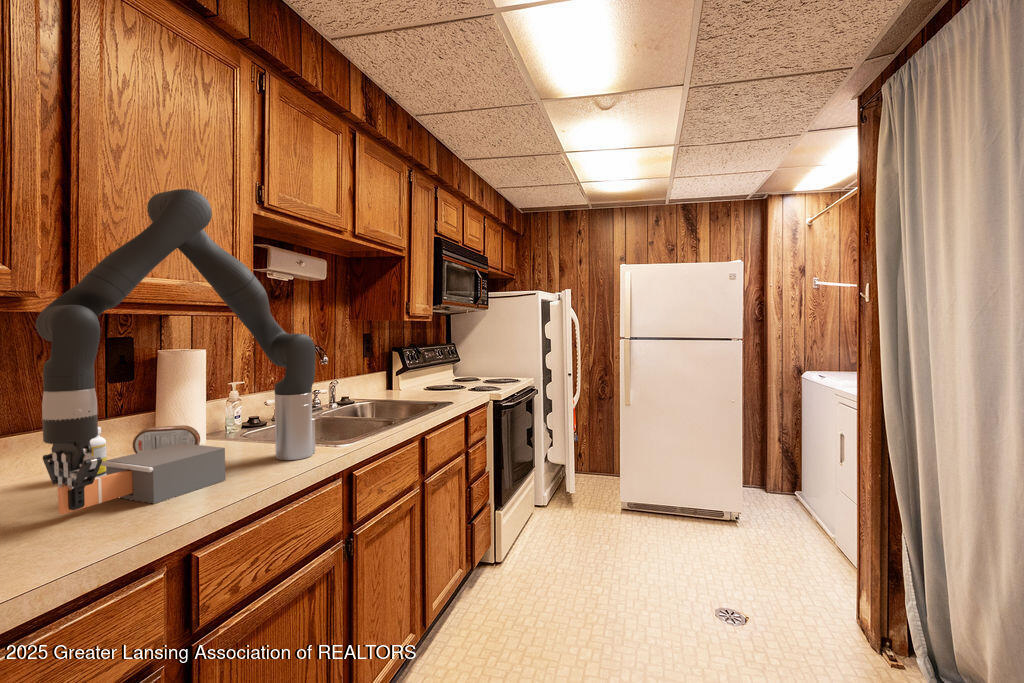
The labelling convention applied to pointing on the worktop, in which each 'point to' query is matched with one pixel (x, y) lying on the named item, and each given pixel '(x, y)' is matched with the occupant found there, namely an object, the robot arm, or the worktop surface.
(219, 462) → the dispenser
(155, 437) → the tin
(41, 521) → the worktop surface
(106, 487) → the ticket
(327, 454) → the worktop surface
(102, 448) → the pill bottle
